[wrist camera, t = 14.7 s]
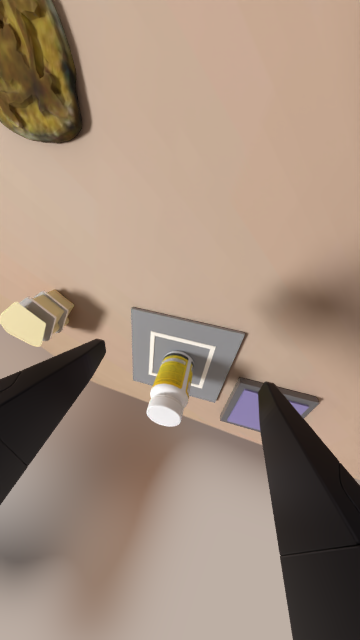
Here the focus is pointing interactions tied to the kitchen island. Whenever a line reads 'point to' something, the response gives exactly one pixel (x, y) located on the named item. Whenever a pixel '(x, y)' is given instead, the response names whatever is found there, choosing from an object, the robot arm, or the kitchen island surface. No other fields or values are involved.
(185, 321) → the board
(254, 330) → the kitchen island surface
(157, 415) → the supplement bottle
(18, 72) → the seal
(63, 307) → the cream tiered block
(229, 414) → the pad
